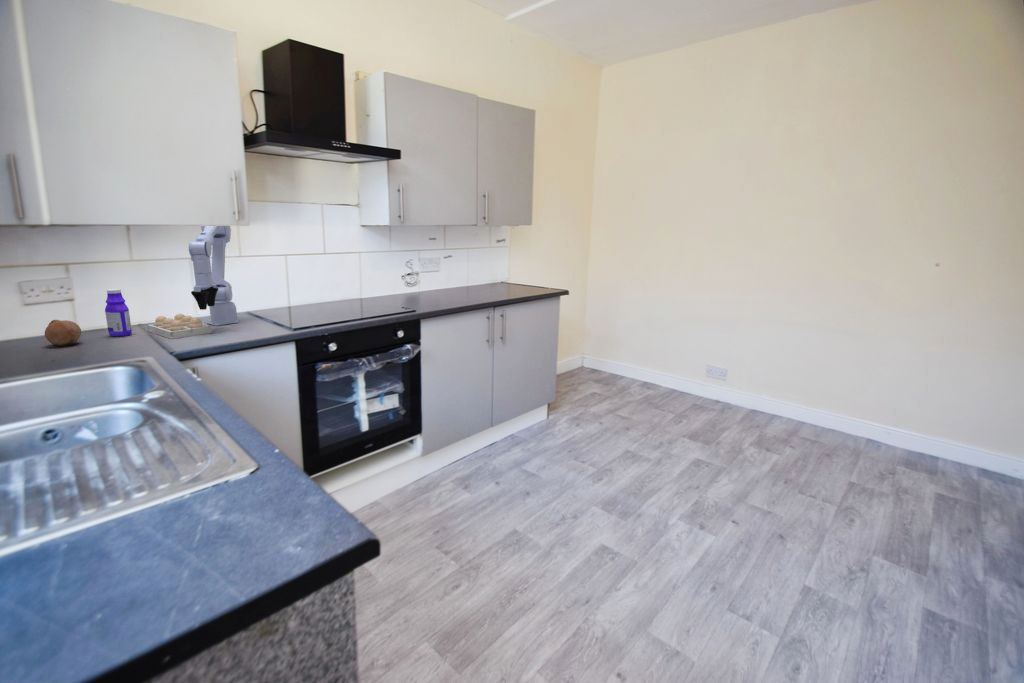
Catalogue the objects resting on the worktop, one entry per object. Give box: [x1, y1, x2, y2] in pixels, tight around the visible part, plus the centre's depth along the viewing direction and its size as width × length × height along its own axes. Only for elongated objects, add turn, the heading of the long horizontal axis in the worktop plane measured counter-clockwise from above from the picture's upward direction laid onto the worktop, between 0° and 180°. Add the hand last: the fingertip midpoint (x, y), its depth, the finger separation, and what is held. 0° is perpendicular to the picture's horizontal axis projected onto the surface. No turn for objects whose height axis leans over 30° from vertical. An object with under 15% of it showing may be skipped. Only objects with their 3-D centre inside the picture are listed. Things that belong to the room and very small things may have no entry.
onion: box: [44, 319, 82, 347], centre depth 173 cm, size 10×9×10 cm
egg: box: [190, 317, 203, 329], centre depth 195 cm, size 4×4×5 cm
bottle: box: [104, 288, 133, 337], centre depth 187 cm, size 7×6×17 cm
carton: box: [147, 313, 212, 340], centre depth 196 cm, size 14×21×6 cm
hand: (207, 307), depth 197 cm, fingers open, 7 cm apart
